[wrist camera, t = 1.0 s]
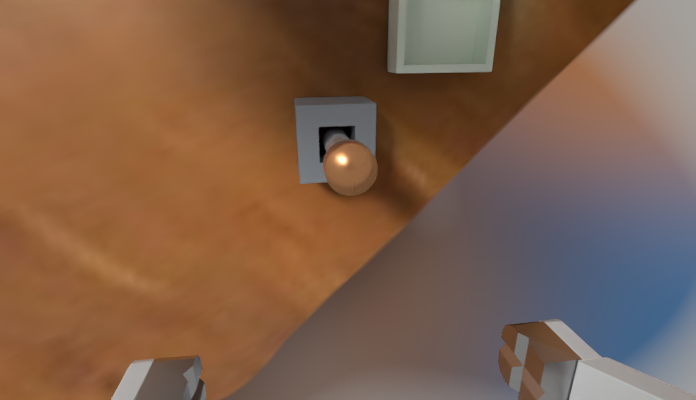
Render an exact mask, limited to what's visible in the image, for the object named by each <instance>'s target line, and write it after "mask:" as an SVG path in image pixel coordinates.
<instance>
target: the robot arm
mask: <svg viewBox="0 0 696 400" xmlns="http://www.w3.org/2000/svg"><path fill="white" fill-rule="evenodd" d="M502 339H503V340H504V341H505V345H504V346H503V347H502V348H501V349H500V351H499V360H498V361H499V367H500V372H501V374H502V376H503V378H504V380H505V382H506V383H507V385H508V386H509V387H510V388H512V389H514V390H515V391H517V392H519V396H518V400H696V396H695V395H692V394H690V393H688V392H686V391H683V390H681V389H679V388H676V387H674V386H672V385H670V384H668V383H665V382H663V381H661V380H658V379H656V378H654V377H651V376H649V375H647V374H645V373H642V372H640V371H638V370H635V369H633V368H631V367H629V366H626V365H624V364H622V363H619V362H617V361H615V360H612V359H610V358H608V357H605V358H602V357H601V356H600V355H598V354H597V353H596V352H595V351H594V350H593V349H592V348H590V346H589V345H587V344H586V343H585V342H584V341H583V340H582V339H581V338H580V337H579V336H578V335H577V334H575V333H574V332H573V331H572V330H571V329H570V328H569V327H568V326H567V325H566V324H564V323H563V322H562V321H560V320H558V319H550V320H543V321H539V322H529V323H520V324H509V325H505V327H504V329H503V332H502ZM201 371H202V364H201V359H200V357H199V356H198V355H195V356H182V357H168V358H157V359H147V360H135V361H134V362H132V363H131V364H130V365H129V367H128V369H127V371H126V373H125V375H124V377H123V378H122V380H121V382H120V384H119V386H118V388H117V390H116V391H115V393H114V395H113V397H112V399H111V400H206V390H205V383H204V382H203V381H202V380H201V379H200V375H201Z"/></svg>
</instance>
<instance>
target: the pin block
mask: <svg viewBox="0 0 696 400" xmlns="http://www.w3.org/2000/svg"><path fill="white" fill-rule="evenodd" d="M294 103H295V120H296V138H297V156H298V170H299V179H300V184H304V183H322V182H327V179H326V176H325V173H324V169H323V160H324V156H325V154H326V150H325V148H319V128H318V127H330V126H346V135H347V136H348V138H349V139H353V140H357V141H359V142H361V143H363V144H364V145H365V146H366V147H367V148H368V149H369V150H370V151H371V153H372V154H373V155H374V157H375V149H376V103H375V102H373V101H371V100H370V99H368V98H366V97H365V96H347V97H307V98H294Z"/></svg>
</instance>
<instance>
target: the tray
mask: <svg viewBox="0 0 696 400" xmlns="http://www.w3.org/2000/svg"><path fill="white" fill-rule="evenodd" d="M499 8H500V0H389V16H388V51H387V72H392V73H454V72H492V66H493V57H494V49H495V41H496V33H497V25H498V17H499Z"/></svg>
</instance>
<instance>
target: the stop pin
mask: <svg viewBox="0 0 696 400" xmlns="http://www.w3.org/2000/svg"><path fill="white" fill-rule="evenodd" d="M319 135H320V138H321V140H322V143H323V145H324V148H325V150H326V154H325V156H324V160H323V169H324V173H325V176H326V179H327V182H328V184H329V185H330V187H331V188H332V189H333V190H334V191H336V192H337V193H339V194H342V195H346V196H355V195H359V194H362V193H363V192H365V191H367V190H368V189H369V188H370V187H371V186H372V185H373V183H374V182H375V180H376V177H377V174H378V165H377V161H376V158H375V157H374V155H373V154H372V153H371V151H370V150H369V149H368V148H367V147H366V146H365V145H364V144H363V143H361V142H359V141H357V140H353V139H349V138H348V136H347V135H346V133H345V132H344V131H343V129H342V128H341V127H340V126H330V127H320V129H319Z"/></svg>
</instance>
